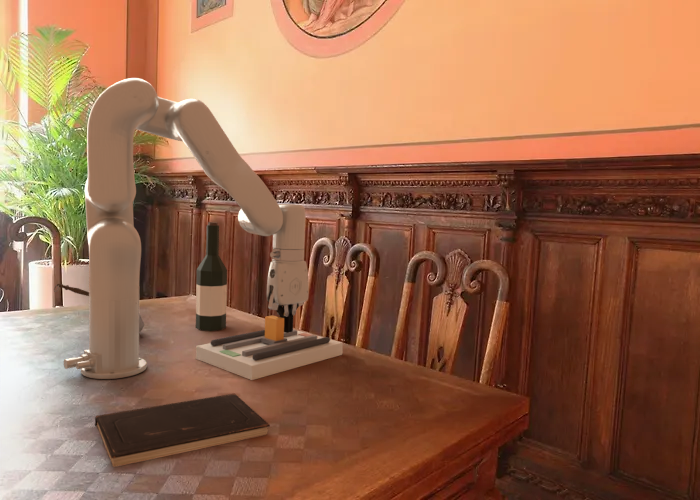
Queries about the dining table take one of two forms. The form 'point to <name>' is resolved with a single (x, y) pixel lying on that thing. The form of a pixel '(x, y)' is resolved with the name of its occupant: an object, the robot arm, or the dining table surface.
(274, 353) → the dressed cords
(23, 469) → the dining table surface
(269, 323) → the handle
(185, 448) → the hardcover book
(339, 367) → the dining table surface
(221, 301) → the wine bottle
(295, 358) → the slider track board
